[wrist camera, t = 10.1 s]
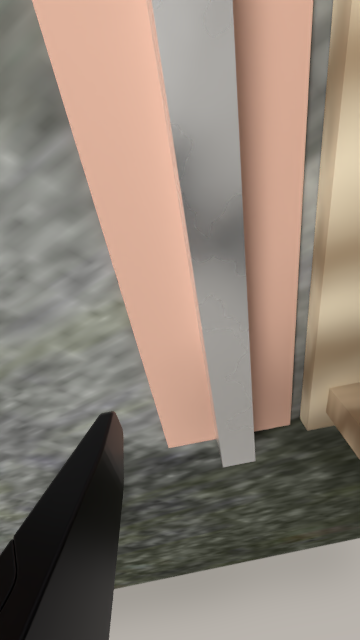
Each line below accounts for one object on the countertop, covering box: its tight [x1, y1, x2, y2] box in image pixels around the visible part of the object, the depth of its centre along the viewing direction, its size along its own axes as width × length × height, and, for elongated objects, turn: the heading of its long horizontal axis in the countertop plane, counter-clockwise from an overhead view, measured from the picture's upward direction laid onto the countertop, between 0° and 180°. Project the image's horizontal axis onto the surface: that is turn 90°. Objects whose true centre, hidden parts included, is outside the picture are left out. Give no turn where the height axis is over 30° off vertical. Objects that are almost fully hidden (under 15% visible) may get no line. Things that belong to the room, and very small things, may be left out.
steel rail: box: [146, 0, 255, 467], centre depth 14 cm, size 26×2×2 cm, turn 10°
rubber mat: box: [32, 0, 313, 448], centre depth 16 cm, size 26×10×1 cm, turn 10°
